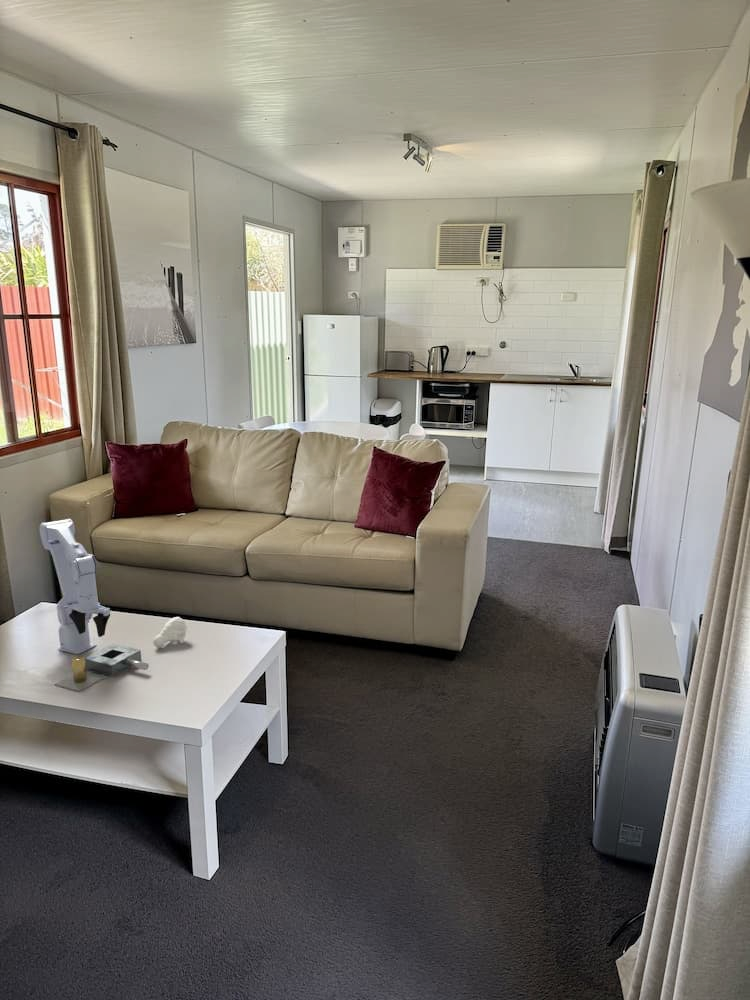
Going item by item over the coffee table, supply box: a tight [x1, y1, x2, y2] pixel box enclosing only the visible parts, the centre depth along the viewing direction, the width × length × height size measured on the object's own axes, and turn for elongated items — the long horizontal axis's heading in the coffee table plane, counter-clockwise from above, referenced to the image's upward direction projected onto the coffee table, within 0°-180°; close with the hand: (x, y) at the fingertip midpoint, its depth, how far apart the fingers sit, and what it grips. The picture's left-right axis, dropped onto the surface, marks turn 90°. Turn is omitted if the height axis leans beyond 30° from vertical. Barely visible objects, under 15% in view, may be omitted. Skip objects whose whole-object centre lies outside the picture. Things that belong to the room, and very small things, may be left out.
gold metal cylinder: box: [71, 655, 87, 683], centre depth 210 cm, size 4×4×7 cm
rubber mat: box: [54, 671, 107, 693], centre depth 211 cm, size 10×10×1 cm
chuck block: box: [84, 643, 149, 678], centre depth 219 cm, size 20×12×4 cm, turn 64°
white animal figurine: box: [152, 616, 187, 650], centre depth 235 cm, size 6×8×12 cm
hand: (91, 634), depth 221 cm, fingers open, 7 cm apart
